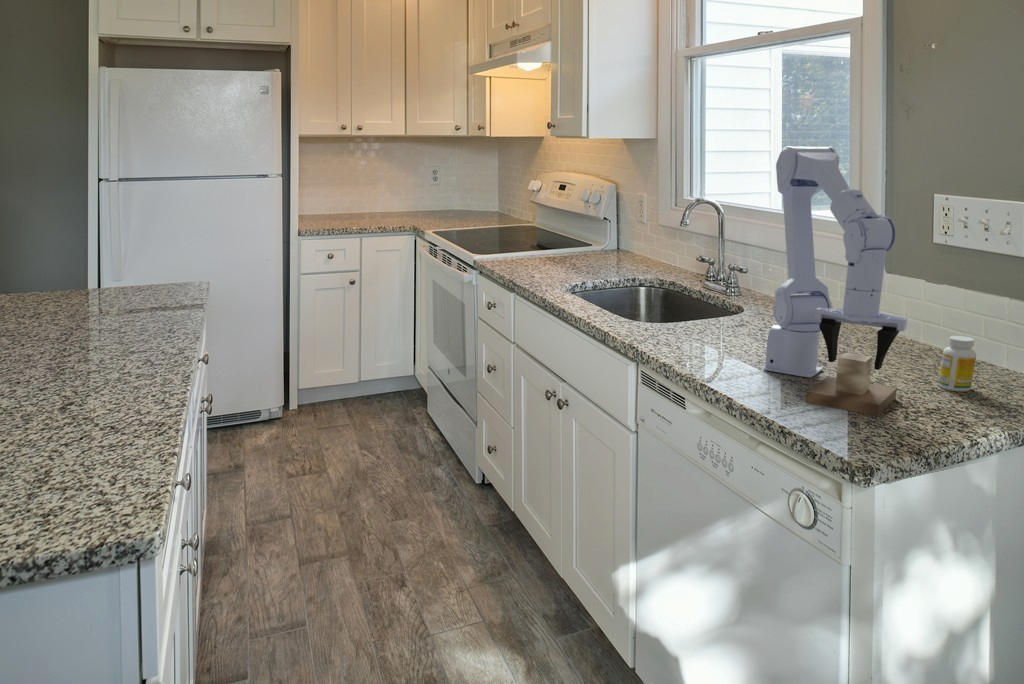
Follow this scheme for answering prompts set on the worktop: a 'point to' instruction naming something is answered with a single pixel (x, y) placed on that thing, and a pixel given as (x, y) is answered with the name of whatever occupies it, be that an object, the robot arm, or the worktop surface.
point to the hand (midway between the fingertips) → (854, 364)
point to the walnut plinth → (852, 397)
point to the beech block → (853, 373)
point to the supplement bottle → (958, 364)
